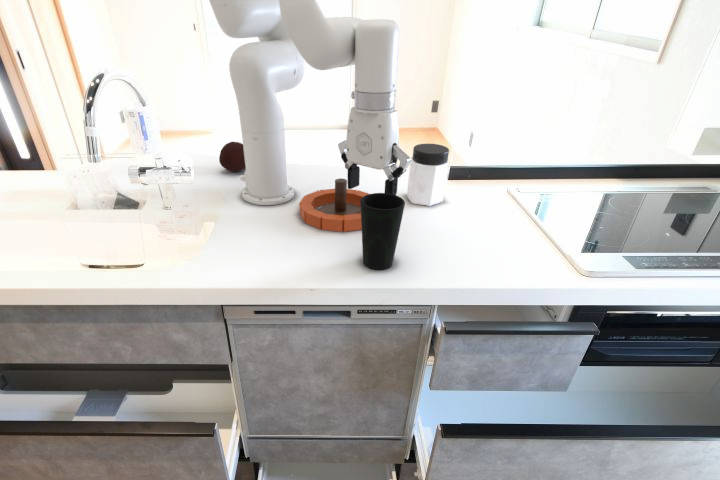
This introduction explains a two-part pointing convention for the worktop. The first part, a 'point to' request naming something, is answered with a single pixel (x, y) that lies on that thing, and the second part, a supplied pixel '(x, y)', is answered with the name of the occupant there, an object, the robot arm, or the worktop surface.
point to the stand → (340, 201)
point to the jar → (428, 174)
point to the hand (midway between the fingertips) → (371, 192)
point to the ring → (330, 220)
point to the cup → (380, 228)
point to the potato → (232, 157)
